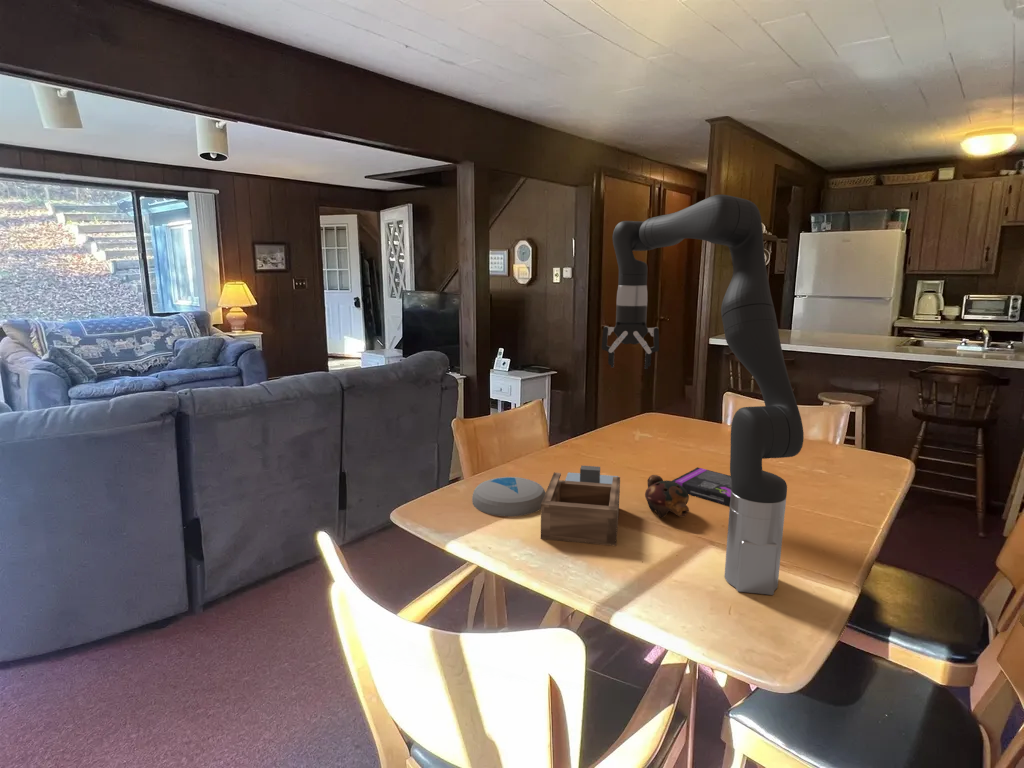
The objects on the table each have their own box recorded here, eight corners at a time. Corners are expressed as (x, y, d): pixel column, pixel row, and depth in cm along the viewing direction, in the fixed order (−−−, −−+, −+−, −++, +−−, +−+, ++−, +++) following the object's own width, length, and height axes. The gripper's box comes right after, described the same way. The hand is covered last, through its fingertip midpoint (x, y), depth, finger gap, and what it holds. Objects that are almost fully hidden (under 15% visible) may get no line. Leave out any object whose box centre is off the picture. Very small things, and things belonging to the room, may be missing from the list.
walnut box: (616, 545, 122) (617, 510, 121) (540, 538, 126) (540, 504, 124) (619, 508, 142) (620, 477, 140) (553, 502, 145) (553, 472, 143)
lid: (614, 505, 145) (615, 482, 144) (558, 500, 148) (559, 477, 147) (618, 479, 162) (618, 459, 161) (568, 475, 165) (568, 455, 164)
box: (670, 492, 154) (742, 512, 140) (670, 479, 153) (743, 499, 139) (696, 478, 163) (767, 496, 150) (697, 466, 163) (767, 483, 149)
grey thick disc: (487, 522, 134) (486, 502, 133) (462, 494, 151) (462, 475, 150) (559, 510, 141) (559, 490, 140) (528, 484, 158) (528, 466, 157)
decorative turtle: (664, 499, 147) (665, 469, 145) (703, 523, 133) (706, 490, 132) (630, 505, 144) (632, 474, 142) (668, 530, 130) (670, 496, 128)
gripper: (602, 304, 144) (600, 369, 147) (661, 305, 141) (658, 371, 144) (603, 302, 151) (602, 364, 154) (660, 303, 148) (657, 366, 152)
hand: (629, 367), depth 149 cm, fingers open, 8 cm apart
